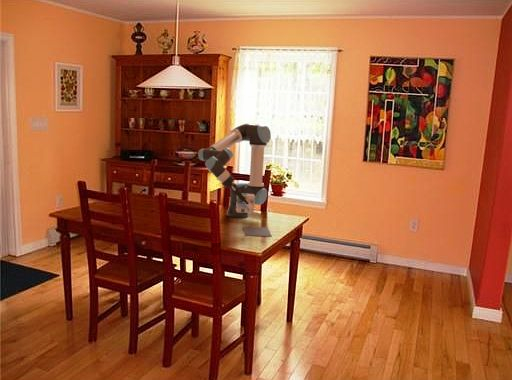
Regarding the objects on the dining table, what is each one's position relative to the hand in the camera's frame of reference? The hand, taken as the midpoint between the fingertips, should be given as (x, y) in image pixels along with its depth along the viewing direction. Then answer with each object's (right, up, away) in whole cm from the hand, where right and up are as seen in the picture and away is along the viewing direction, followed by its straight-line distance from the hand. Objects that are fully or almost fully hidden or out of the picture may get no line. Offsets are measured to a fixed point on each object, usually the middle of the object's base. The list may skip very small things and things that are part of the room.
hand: (250, 206), depth 292 cm
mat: (+4, -16, +4) cm, 17 cm away
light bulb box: (-4, -4, 0) cm, 5 cm away
